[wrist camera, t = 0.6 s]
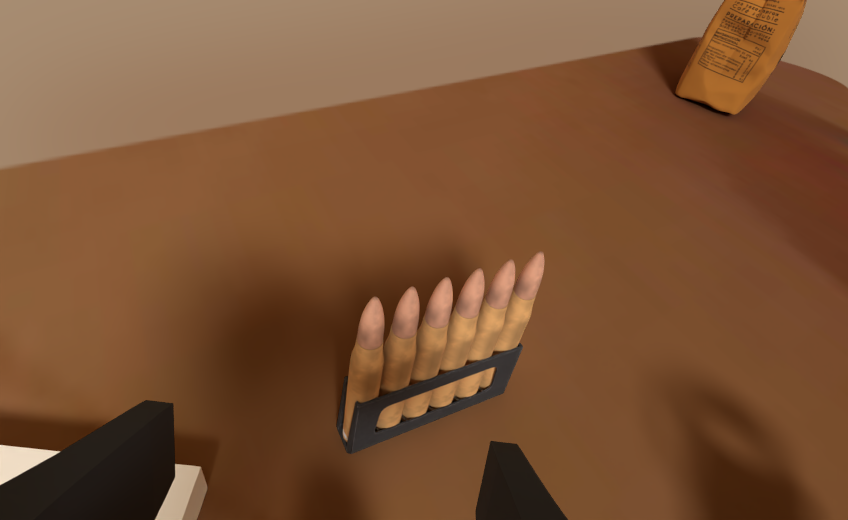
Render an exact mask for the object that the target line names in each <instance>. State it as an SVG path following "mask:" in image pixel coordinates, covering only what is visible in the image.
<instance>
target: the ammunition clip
mask: <svg viewBox="0 0 848 520" xmlns="http://www.w3.org/2000/svg"><path fill="white" fill-rule="evenodd" d="M543 271H544V255H543V252H538V253H537V254H535V255H534V256H533V257H532V258H531V259H530V260H529V261H528V262H527V264H526V265H525V267H524V268H523V270H522V271H521V273H520V275H519V277H518V279H517V282H516V284H515V286H514V281H515V265H514V261H513V260H509V261H507V262H506V263H505V264H504V265H503V266H502V267H501V268H500V269H499V270H498V272H497V273H496V275H495V276H494V278H493V280H492V282H491V284H490V286H489V289H488V291H487V294H486V295H485V298H484V300H483V295H484V274H483V271H482V269H481V268H478V269H477V270H475V271H474V272H473V273H472V274H471V275H470V276H469V278H468V279H467V281H466V282H465V284H464V286H463V288H462V290H461V292H460V294H459V297H458V300H457V303H456V305H455V307H454V310H453V312H452V315H451V310H452V302H453V290H452V284H451V281H450V279H449V278H448V277H445V278H444V279H443V280H441V281H440V283H439V284H438V285H437V287H436V288H435V290H434V292H433V293H432V295H431V298H430V300H429V302H428V305H427V308H426V312H425V315H424V317H423V320H422V323H421V326H420V327H419V329H418V331H417V327H418V322H419V310H420V308H419V298H418V294H417V291H416V289H415V288H414V287H410V288H409V289H407V290H406V292H405V293H404V294H403V296H402V298H401V299H400V301H399V303H398V305H397V308H396V311H395V314H394V318H393V323H392V325H391V329H390V333H389V336H388V338H387V339H386V341H385V344H384V349H383V342H384V339H383V336H384V327H385V323H384V312H383V308H382V305H381V302H380V300H379V299H378V297H373V298H372V299H371V300H370V301H369V302H368V304H367V305H366V307H365V309H364V311H363V313H362V316H361V319H360V323H359V327H358V334H357V337H356V343H355V346H354V349H353V351H352V353H351V358H350V366H349V375H348V376H346V377H345V378H344V384H343V390H342V396H341V403H340V409H339V415H338V421H337V429H338V432H339V434H340V437H341V439H342V442H343V444H344V446H345V449H346V451H347V453H350V454H352V453H355V452H357V451H360V450H362V449H365V448H367V447H370V446H372V445H375V444H377V443H380V442H382V441H385V440H387V439H390V438H392V437H395V436H397V435H400V434H402V433H405V432H407V431H410V430H412V429H415V428H417V427H420V426H422V425H425V424H427V423H430V422H432V421H435V420H437V419H440V418H442V417H445V416H447V415H450V414H452V413H455V412H457V411H460V410H462V409H465V408H467V407H470V406H472V405H475V404H477V403H480V402H482V401H485V400H487V399H490V398H492V397H495V396H497V395H500V394H502V393H504V391H505V388H506V386H507V383H508V381H509V379H510V376H511V374H512V372H513V369H514V367H515V365H516V362H517V360H518V358H519V355H520V353H521V350H522V348H523V346H522V345H521V343H519V341H520V339H521V337H522V334H523V332H524V330H525V328H526V326H527V323H528V321H529V319H530V316H531V312H532V306H533V302H534V300H535V297H536V293H537V291H538V288H539V286H540V283H541V279H542V276H543ZM513 286H514V287H513ZM482 300H483V302H482ZM450 315H451V316H450ZM518 343H519V344H518ZM517 346H518V347H517Z"/></svg>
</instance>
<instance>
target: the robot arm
mask: <svg viewBox="0 0 848 520" xmlns="http://www.w3.org/2000/svg"><path fill="white" fill-rule="evenodd" d="M174 478H175V447H174V414H173V403H165V402H157V401H148V400H145V401H144V402H142V403H140V404H138V405H136V406H135V407H133V408H131V409H130V410H128V411H126V412H125V413H123V414H121V415H120V416H118V417H117V418H115V419H113V420H112V421H110V422H108V423H107V424H105V425H104V426H102V427H100V428H99V429H97V430H96V431H94V432H92V433H91V434H89V435H87V436H86V437H84V438H82V439H81V440H79V441H77V442H76V443H74V444H72V445H71V446H69V447H67V448H66V449H64V450H62V451H61V452H59V453H57V454H56V455H54V456H52V457H50V458H48V459H47V460H45V461H43V462H41V463H39V464H38V465H36V466H34V467H32V468H30V469H28V470H27V471H25V472H23V473H21V474H19V475H18V476H16V477H14V478H12V479H10V480H9V481H7V482H5V483H3V484H1V485H0V520H155V519H156V517H157V515H158V512H159V510H160V508H161V506H162V504H163V502H164V500H165V498H166V496H167V494H168V492H169V489H170V487H171V485H172V483H173V481H174ZM476 520H568V519H567V518H566V517H565V515H564V514H563V512H562V511H561V510H560V508H559V507H558V505H557V504H556V503H555V501H554V500H553V498H552V497H551V495H550V494H549V492H548V491H547V489H546V488H545V486H544V485H543V483H542V482H541V480H540V479H539V477H538V476H537V474H536V473H535V471H534V469H533V468H532V466H531V465H530V463H529V462H528V460H527V458H526V457H525V455H524V454H523V452H522V450H521V449H520V448H519V446H518V445H517V444H512V443H503V442H495V441H491V442H490V446H489V451H488V455H487V460H486V465H485V469H484V474H483V479H482V483H481V488H480V493H479V497H478V502H477V507H476Z"/></svg>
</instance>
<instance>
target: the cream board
mask: <svg viewBox="0 0 848 520" xmlns="http://www.w3.org/2000/svg"><path fill="white" fill-rule="evenodd" d="M59 452H60V451H51V450H42V449H32V448H23V447H14V446H5V445H0V485H1V484H3V483H5V482H7V481H9V480H10V479H12V478H14V477H16V476H18V475H19V474H21V473H23V472H25V471H27V470H28V469H30V468H32V467H34V466H36V465H38V464H39V463H41V462H43V461H45V460H47V459H48V458H50V457H52V456H54V455H56V454H57V453H59ZM207 488H208V487H207V484H206V481H205V478H204V475H203V472H202V469H201V467H199V466H190V465H181V464H175V478H174V481H173V483H172V485H171V487H170V489H169V492H168V494H167V496H166V498H165V500H164V502H163V504H162V506H161V508H160V510H159V512H158V515H157V517H156V519H155V520H197V518H198V515H199V512H200V509H201V506H202V503H203V500H204V497H205V494H206V491H207Z"/></svg>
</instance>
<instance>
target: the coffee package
mask: <svg viewBox="0 0 848 520" xmlns="http://www.w3.org/2000/svg"><path fill="white" fill-rule="evenodd" d="M805 4H806V0H724V2H723V3H722V5H721V6H720V8H719V9H718V11H717V12H716V14H715V16H714V17H713V19H712V20H711V22H710V24H709V25H708V27H707V29H706V31H705V33H704V35H703V37H702V39H701V40H700V42H699V44H698V46H697V48H696V49H695V51H694V53H693V55H692V57H691V59H690V60H689V62H688V64H687V66H686V68H685V70H684V72H683V74H682V76H681V78H680V80H679V82H678V85H677V87H676V91H675V94H676V95H678V96H679V97H681V98H686V99H690V100H693V101H697V102H700V103H704V104H707V105H709V106H710V107H712V108H714V109H716V110H719V111H722V112H727V113H731V114H733V115H735V114H737V113H739V112H740V111H741V110H742V109H743V108H744V107H745V106H746V105H747V104H748V103H749V102H750V101H751V100H752V99H753V97H754V96H755V95H756V94H757V93H758V91H759V90H760V89H761V87H762V86H763V85H764V83H765V82H766V80H767V79H768V77H769V76H770V74H771V73H772V71H773V70H774V69H775V67H776V66H777V64H778V63H779V61H780V60H781V58H782V56H783V54H784V53H785V51H786V49H787V47H788V44H789V43H790V40H791V38H792V36H793V34H794V32H795V30H796V28H797V26H798V24H799V21H800V19H801V17H802V15H803V12H804V8H805Z"/></svg>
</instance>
